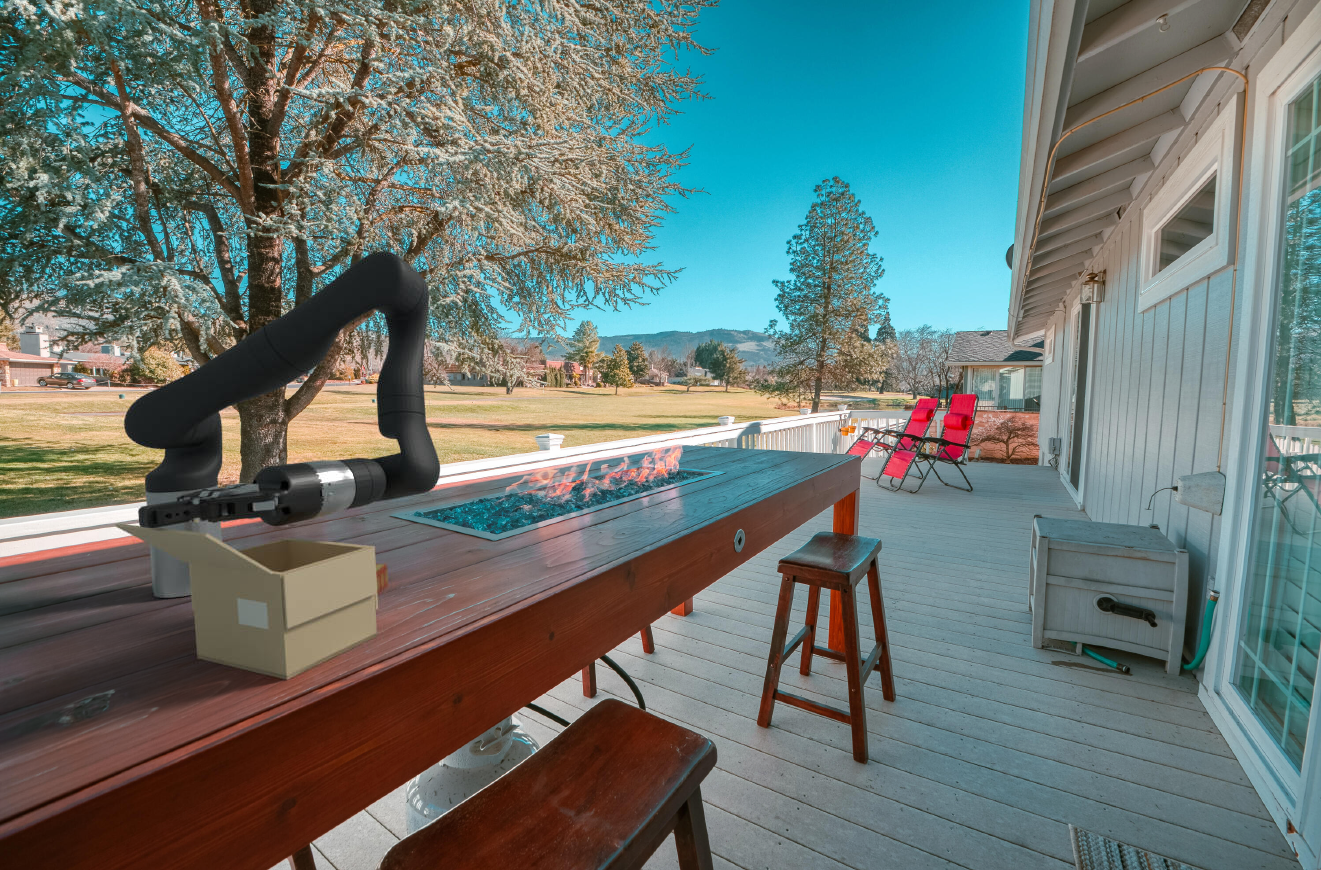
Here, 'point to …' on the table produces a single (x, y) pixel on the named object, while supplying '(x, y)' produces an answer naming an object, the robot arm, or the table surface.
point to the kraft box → (286, 606)
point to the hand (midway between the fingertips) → (143, 518)
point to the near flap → (195, 548)
